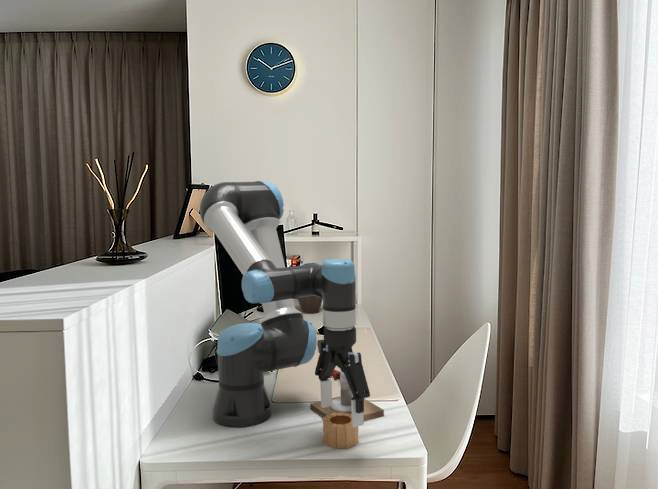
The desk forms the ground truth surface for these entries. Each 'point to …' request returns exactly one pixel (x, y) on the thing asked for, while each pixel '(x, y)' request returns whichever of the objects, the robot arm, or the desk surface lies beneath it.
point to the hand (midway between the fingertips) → (341, 415)
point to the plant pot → (310, 304)
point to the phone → (319, 344)
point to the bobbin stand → (346, 404)
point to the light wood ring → (339, 431)
